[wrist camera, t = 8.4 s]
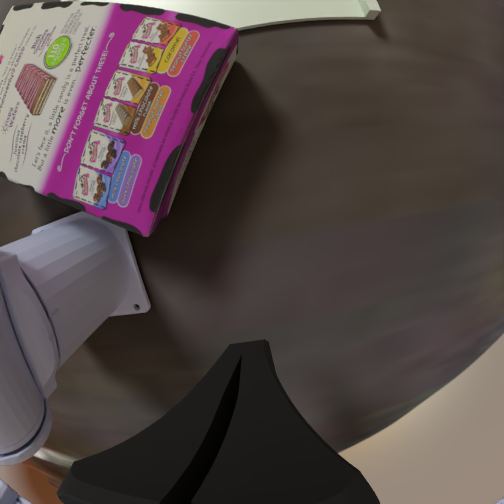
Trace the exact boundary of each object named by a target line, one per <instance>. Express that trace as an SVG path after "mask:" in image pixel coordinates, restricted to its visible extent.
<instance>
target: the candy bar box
mask: <svg viewBox="0 0 504 504" xmlns="http://www.w3.org/2000/svg"><path fill="white" fill-rule="evenodd" d="M237 54H238V29H237V28H235V27H232V26H229V25H226V24H222V23H219V22H216V21H213V20H209V19H206V18H202V17H198V16H194V15H190V14H185V13H180V12H176V11H172V10H165V9H160V8H155V7H147V6H141V5H133V4H122V3H114V2H87V1H57V2H44V3H35V4H23V5H17V6H13V7H12V8H11V10H10V12H9V13H8V15H7V17H6V19H5V21H4V23H3V24H2V27H1V28H0V176H1V177H4V178H6V179H8V180H10V181H13V182H15V183H17V184H19V185H21V186H24V187H26V188H29V189H31V190H33V191H35V192H38V193H40V194H43V195H45V196H47V197H50V198H52V199H54V200H57V201H59V202H61V203H64V204H66V205H69V206H71V207H73V208H76V209H78V210H80V211H83V212H85V213H88V214H90V215H93V216H95V217H97V218H100V219H102V220H105V221H107V222H109V223H112V224H114V225H117V226H119V227H121V228H124V229H126V230H129V231H131V232H134V233H137V234H139V235H142V236H145V237H149V236H150V235H151V234H152V233H153V232H154V230H155V229H156V228H157V227H158V226H159V225H160V224H161V223H162V222H163V221H164V220H165V219H166V218H167V216H168V213H169V211H170V208H171V205H172V202H173V200H174V197H175V194H176V192H177V189H178V187H179V184H180V181H181V179H182V176H183V174H184V171H185V169H186V166H187V164H188V161H189V159H190V157H191V154H192V152H193V149H194V147H195V145H196V142H197V140H198V138H199V135H200V133H201V131H202V128H203V126H204V124H205V121H206V119H207V117H208V115H209V113H210V111H211V108H212V106H213V104H214V102H215V100H216V98H217V95H218V93H219V91H220V89H221V87H222V85H223V83H224V81H225V79H226V77H227V75H228V73H229V71H230V69H231V67H232V65H233V63H234V61H235V59H236V57H237Z"/></svg>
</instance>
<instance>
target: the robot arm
mask: <svg viewBox="0 0 504 504" xmlns="http://www.w3.org/2000/svg"><path fill="white" fill-rule="evenodd" d="M136 304H138V305H139V307H140V308H138V307H137V306H136ZM150 307H151V305H150V301H149V299H148V296H147V293H146V290H145V287H144V284H143V281H142V278H141V275H140V272H139V268H138V265H137V262H136V259H135V255H134V252H133V249H132V245H131V242H130V238H129V235H128V231H127V230H126V229H124V228H121V227H119V226H117V225H114V224H112V223H109V222H107V221H105V220H102V219H100V218H97V217H95V216H93V215H90V214H88V213H85V212H83V211H81V212H78V213H76V214H73V215H70V216H68V217H65V218H62V219H60V220H57V221H55V222H52V223H49V224H47V225H44V226H42V227H40V228H37V229H35V230H33V231H32V235H30V236H28V237H25V238H22V239H20V240H17V241H15V242H12V243H10V244H7V245H5V246H3V247H0V465H1V466H9V465H15V464H18V463H21V462H23V461H25V460H27V459H28V458H30V457H32V456H33V455H34V454H35V453H36V452H37V451H38V450H39V449H40V448H41V447H42V446H43V444H44V443H45V441H46V439H47V438H48V435H49V433H50V430H51V425H52V412H51V408H50V405H49V402H48V401H47V398H48V397H49V396H50V395H51V393H52V392H53V391H54V390H55V389H56V387H57V384H56V381H55V373H56V371H57V370H58V369H59V368H60V367H61V366H62V365H63V364H64V362H65V361H66V360H67V359H68V358H69V357H70V356H71V355H72V354H73V353H74V352H75V351H76V350H77V349H78V348H79V347H80V345H81V344H82V343H83V342H84V341H85V340H86V339H87V338H88V337H89V336H90V335H91V334H92V333H93V332H94V331H95V330H96V329H97V328H98V327H99V326H100V325H101V324H102V323H103V322H104V321H105V320H106V319H107V318H108V317H109V316H118V315H128V314H137V313H145V312H147V311H148V310H149V309H150ZM57 495H58V497H59V499H60V500H61V501H62V502H63V503H64V504H380V502H379V500H378V498H377V496H376V494H375V492H374V491H373V489H372V488H371V486H370V485H369V483H368V482H367V481H366V479H365V478H364V477H363V475H362V474H361V472H360V471H359V470H358V469H357V468H355V467H354V466H353V465H351V464H350V463H349V462H347V461H346V460H345V459H344V458H342V457H341V456H340V455H339V454H338V453H337V452H335V451H334V450H333V449H332V448H331V447H330V446H329V445H328V444H327V443H326V442H325V441H324V440H323V439H322V438H321V437H320V436H319V435H318V434H317V433H316V432H315V431H314V430H313V428H312V427H311V426H310V425H309V424H308V423H307V422H306V421H305V419H304V418H303V417H302V415H301V414H300V413H299V412H298V410H297V409H296V407H295V406H294V404H293V403H292V402H291V400H290V398H289V397H288V395H287V394H286V392H285V390H284V388H283V387H282V385H281V383H280V381H279V379H278V377H277V375H276V371H275V367H274V363H273V359H272V355H271V350H270V346H269V342H268V341H266V340H265V339H264V340H258V341H251V342H244V343H236V344H230V345H229V346H228V348H227V349H226V350H225V351H224V353H223V354H222V355H221V356H220V358H219V359H218V360H217V362H216V363H215V364H214V365H213V367H212V368H211V369H210V370H209V371H208V373H207V374H206V375H205V376H204V377H203V379H202V380H201V381H200V382H199V383H198V384H197V385H196V386H195V387H194V388H193V389H192V390H191V392H190V393H189V394H188V395H187V396H186V397H185V398H184V399H183V400H182V401H181V402H179V403H178V404H177V405H176V406H175V407H174V408H173V409H171V410H170V411H169V412H168V413H167V414H165V415H164V416H163V417H162V418H160V419H159V420H158V421H156V422H155V423H153V424H152V425H150V426H149V427H147V428H146V429H144V430H143V431H141V432H140V433H138V434H137V435H135V436H133V437H131V438H130V439H128V440H126V441H124V442H122V443H120V444H118V445H116V446H114V447H112V448H110V449H108V450H105V451H103V452H100V453H98V454H95V455H92V456H90V457H87V458H84V459H81V460H78V461H74V463H73V464H72V466H71V468H70V470H69V471H68V473H67V475H66V477H65V478H64V480H63V482H62V484H61V486H60V487H59V489H58V491H57ZM0 504H32V503H30V502H28V501H27V500H25V499H24V498H22V497H20V496H19V495H18V494H17V492H15V491H14V490H13V489H12V488H11V487H10V486H9V485H7V484H6V483H5V482H4V481H3V480H1V479H0ZM494 504H504V497H503V498H502V499H500V500H499V501H497V502H496V503H494Z"/></svg>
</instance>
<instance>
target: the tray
mask: <svg viewBox="0 0 504 504" xmlns="http://www.w3.org/2000/svg"><path fill="white" fill-rule="evenodd" d="M61 1H87V2H114V3H122V4H133V5H141V6H147V7H155V8H160V9H165V10H172V11H176V12H180V13H185V14H190V15H194V16H198V17H202V18H206V19H209V20H213V21H216V22H219V23H222V24H226V25H229V26H232V27H235V28H237V29H238V31H240V30H245V29H250V28H256V27H261V26H268V25H275V24H282V23H291V22H301V21H314V20H337V19H360V20H374V19H375V18H376V17H377V15H378V14H379V13H380V11H381V10H380V7H379V5H378V3H377V1H376V0H61Z"/></svg>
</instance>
